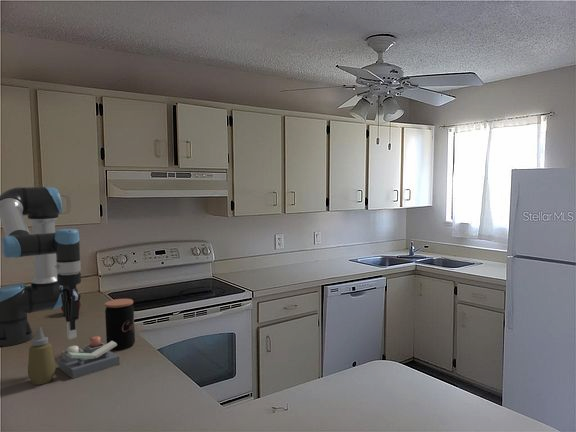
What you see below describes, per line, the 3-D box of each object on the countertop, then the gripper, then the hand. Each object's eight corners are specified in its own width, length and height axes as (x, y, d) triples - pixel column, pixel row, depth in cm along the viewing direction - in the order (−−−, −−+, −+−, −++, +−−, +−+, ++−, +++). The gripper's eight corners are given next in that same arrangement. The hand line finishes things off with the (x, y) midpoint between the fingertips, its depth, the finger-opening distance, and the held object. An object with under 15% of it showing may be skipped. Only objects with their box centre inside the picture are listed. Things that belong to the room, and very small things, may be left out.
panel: (58, 367, 156) (57, 352, 156) (103, 354, 168) (102, 340, 167) (73, 378, 147) (72, 362, 146) (119, 364, 158) (118, 349, 158)
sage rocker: (66, 357, 150) (68, 352, 150) (89, 358, 156) (91, 353, 156) (70, 360, 147) (72, 355, 148) (93, 361, 153) (95, 355, 153)
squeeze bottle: (61, 377, 147) (59, 325, 146) (41, 388, 140) (38, 332, 139) (43, 374, 150) (40, 323, 149) (22, 385, 143) (19, 330, 141)
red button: (88, 346, 162) (88, 337, 162) (98, 344, 165) (98, 335, 164) (92, 349, 160) (92, 339, 159) (102, 346, 162) (102, 337, 162)
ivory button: (66, 357, 156) (65, 347, 156) (76, 354, 159) (76, 344, 159) (69, 359, 154) (69, 350, 154) (80, 356, 157) (80, 347, 156)
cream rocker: (93, 357, 156) (91, 353, 156) (113, 344, 162) (111, 340, 161) (97, 360, 154) (95, 355, 153) (118, 347, 159) (116, 343, 159)
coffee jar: (125, 351, 171) (123, 305, 170) (101, 349, 173) (99, 304, 172) (140, 341, 181) (138, 299, 180) (116, 340, 183) (115, 298, 182)
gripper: (51, 271, 156) (54, 336, 158) (64, 277, 147) (67, 345, 149) (73, 268, 162) (76, 331, 164) (87, 273, 153) (90, 339, 155)
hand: (72, 337), depth 156 cm, fingers closed
